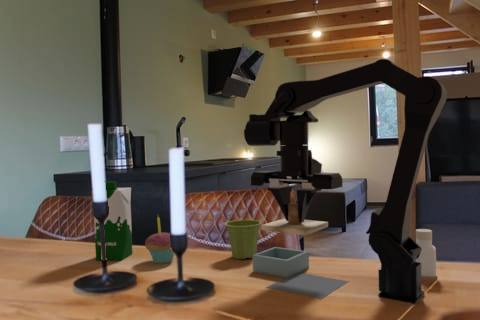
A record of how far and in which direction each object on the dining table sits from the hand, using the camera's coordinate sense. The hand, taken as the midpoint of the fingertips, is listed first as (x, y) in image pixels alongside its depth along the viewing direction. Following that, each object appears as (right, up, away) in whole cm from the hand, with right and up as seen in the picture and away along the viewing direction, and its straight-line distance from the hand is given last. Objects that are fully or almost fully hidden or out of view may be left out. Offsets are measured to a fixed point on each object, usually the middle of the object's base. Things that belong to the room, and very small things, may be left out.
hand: (295, 221), depth 90 cm
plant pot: (-10, -12, +22) cm, 27 cm away
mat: (+2, -12, -3) cm, 13 cm away
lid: (0, -1, 0) cm, 1 cm away
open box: (-2, -12, +8) cm, 14 cm away
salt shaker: (+27, -12, +1) cm, 30 cm away
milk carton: (-44, -13, +25) cm, 52 cm away
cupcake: (-31, -13, +20) cm, 39 cm away
